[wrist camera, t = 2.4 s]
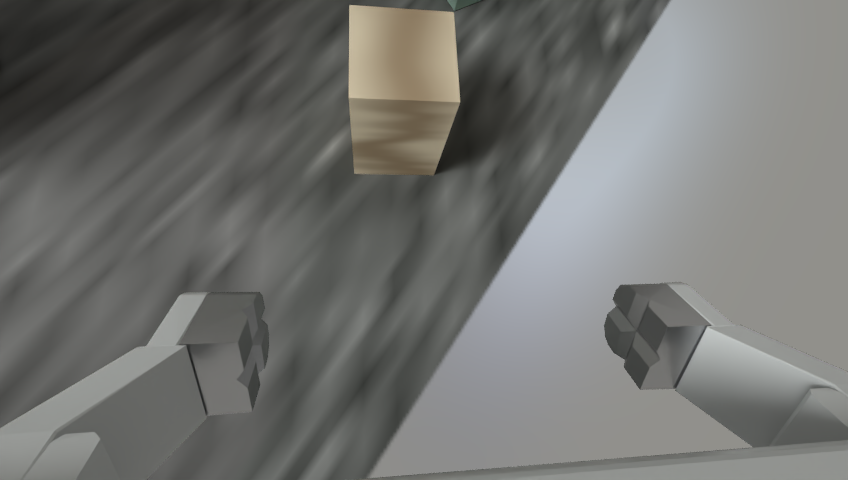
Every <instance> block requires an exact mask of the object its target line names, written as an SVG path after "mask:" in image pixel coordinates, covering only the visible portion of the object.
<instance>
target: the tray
mask: <svg viewBox="0 0 848 480" xmlns="http://www.w3.org/2000/svg"><path fill="white" fill-rule="evenodd" d="M447 1H448V2H449V4H450V5H451V7H452V8H453V10H454V11H456V10H458V9H461V8H463V7H466V6H469V5H471V4H474V3H476V2H479V1H481V0H447Z"/></svg>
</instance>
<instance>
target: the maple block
mask: <svg viewBox="0 0 848 480" xmlns="http://www.w3.org/2000/svg"><path fill="white" fill-rule="evenodd" d="M459 104H460V91H459V77H458V64H457V50H456V36H455V22H454V12H445V11H430V10H416V9H401V8H386V7H372V6H357V5H349V107H350V120H351V134H352V147H353V160H354V173H355V174H398V175H434V174H435V171H436V168H437V165H438V162H439V160H440V157H441V154H442V151H443V149H444V146H445V143H446V140H447V138H448V135H449V132H450V129H451V127H452V124H453V121H454V118H455V116H456V113H457V110H458V107H459Z"/></svg>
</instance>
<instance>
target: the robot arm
mask: <svg viewBox="0 0 848 480" xmlns="http://www.w3.org/2000/svg"><path fill="white" fill-rule="evenodd" d="M613 300H614V303H615V305H616V307H615V308H614V309H613V310H612V311H610V312H609V313H608V314H607V318H606V322H605V325H604V327H605V337H606V340H607V342H608V345H609V346H610V348H611V349H612V351H613V352H614V353H615V354H617V355H618V356H620V357H622V358H623V359H625V363H624V368H625V369H626V371H627V372H628V373H629V375H630V376H631V378H632V379H633V380H634V382H635V383H636V385H637V386H638V387H639V389H642V390H643V389H676V390H675V391H677V392H678V393H679V394H681V395H682V396H684V397H685V398H686V399H688V400H689V401H690V402H692V403H693V404H695V405H696V406H697V407H699V408H700V409H702V410H703V411H704V412H706V413H707V414H708V415H710V416H711V417H712V418H714V419H715V420H717V421H718V422H719V423H721V424H722V425H724V426H725V427H726V428H728V429H729V430H731V431H732V432H733V433H735V434H736V435H737V436H739V437H740V438H741V439H743V440H744V441H746V442H747V443H748V444H750V445H751V446H752V447H754V448H742V449H730V450H717V451H704V452H693V453H680V454H667V455H655V456H642V457H631V458H617V459H605V460H592V461H580V462H568V463H555V464H542V465H529V466H518V467H506V468H492V469H480V470H467V471H454V472H443V473H429V474H417V475H405V476H392V477H380V478H367V479H355V480H848V372H847V371H845V370H843V369H841V368H838V367H836V366H834V365H831V364H829V363H827V362H825V361H822V360H820V359H817V358H815V357H813V356H811V355H809V354H806V353H804V352H802V351H799V350H797V349H795V348H792V347H790V346H788V345H786V344H783V343H781V342H779V341H777V340H774V339H772V338H770V337H767V336H765V335H763V334H760V333H758V332H756V331H754V330H751V329H749V328H747V327H745V326H742V325H734V324H733V323H732V322H731V321H729V320H728V319H727V318H726V317H725V316H724V315H722V314H721V313H720V312H719V311H718V310H717V309H716V308H714V307H713V306H712V305H711V304H710V303H709V302H708V301H706V300H705V299H704V298H703V297H702V296H701V295H699V294H698V293H697V292H696V291H695V290H694V289H692V288H691V287H690V286H689V285H687V284H684V283H682V282H672V283H660V284H634V285H620V286H619V288H618V289H617V290H616V292H615V294H614V297H613ZM264 309H265V306H264V301H263V296H262V294H261V293H260V292H210V293H209V292H189V293H183V294H181V295H180V296H179V297H178V299H177V300H176V302H175V303H174V305H173V306H172V308H171V309H170V311H169V312H168V314H167V315H166V317H165V318H164V320H163V321H162V323H161V325H160V326H159V328H158V329H157V331H156V332H155V334H154V335H153V337H152V338H151V340H150V341H149V343H148V344H147V346H146V347H137V348H135V349H133V350H132V351H130V352H128V353H127V354H125V355H123V356H122V357H120V358H118V359H116V360H115V361H113V362H111V363H110V364H108V365H106V366H105V367H103V368H101V369H100V370H98V371H96V372H94V373H93V374H91V375H89V376H88V377H86V378H84V379H83V380H81V381H79V382H78V383H76V384H74V385H73V386H71V387H69V388H67V389H66V390H64V391H62V392H61V393H59V394H57V395H56V396H54V397H52V398H51V399H49V400H47V401H45V402H44V403H42V404H40V405H39V406H37V407H35V408H34V409H32V410H30V411H29V412H27V413H25V414H24V415H22V416H20V417H18V418H17V419H15V420H13V421H12V422H10V423H8V424H7V425H5V426H3V427H2V428H0V480H146V479H147V478H148V477H149V476H150V475H151V474H152V473H153V472H154V471H155V470H156V469H157V468H158V467H159V466H160V465H161V464H162V463H163V462H164V461H165V460H166V459H167V458H168V457H169V456H170V455H171V454H172V453H173V452H174V451H175V450H176V449H177V448H178V447H179V446H180V445H181V444H182V443H183V442H184V441H185V440H186V439H187V438H188V437H189V436H190V435H191V434H192V433H193V432H194V431H195V430H196V429H197V428H198V427H199V426H200V425H201V424H202V422H203V421H204V420H205V419H206V418H207V416H208V415H220V414H231V413H243V412H252V411H253V408H254V404H255V401H256V397H257V394H258V390H259V387H260V381H259V376H258V374H259V373H260V372H261V371H262V370H263V369H264V368H265V366H266V362H267V358H268V349H269V332H268V325H267V324H266V323H265V322H264V321H263V320H262V319H261V318H262V315H263V312H264Z"/></svg>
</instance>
